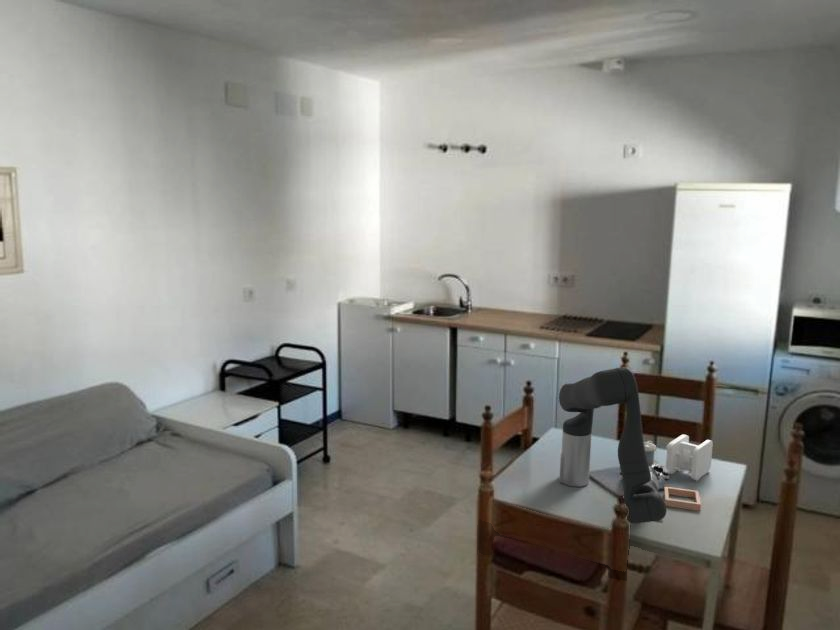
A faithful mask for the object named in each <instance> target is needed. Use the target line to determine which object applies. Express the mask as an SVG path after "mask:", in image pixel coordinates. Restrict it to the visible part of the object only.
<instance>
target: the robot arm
mask: <svg viewBox="0 0 840 630" xmlns="http://www.w3.org/2000/svg"><path fill="white" fill-rule="evenodd" d="M558 402H559V405H560V407H561V409H562V410H563V411H564V412H568V413H578V414H577V415H575V416H574V417H572V418H569V419H566V420H565V421H563V424H562V434H561V435H562V437H561V439H562V440H561V453H560V461H559V463H560V464H559V466H560V467H559V479H558V480H559V481H558V483H561V484H564V485H567V486H570V487H577V488H579V487H580V488H581V487H585V486H587V485H589V482H590V469H591V468H590V466H591V452H592V451H591V450H592V436H593V435H592V432H593V423H594V412H595V411H594V410H595V409H599V408H601V407H609V406H614V405H619V404H624V403H625V409H626V417H625V422H624V426H623V430H622V433H621V435H620V439H619V441H618V446H617V458H618V464H619V475H620V476H621V477H623V478H622V482H623V494H622V496H623V498H624V499H625V504H626V506H627V507H628V509H629V514H628V516H627V519H626V521H627V522H628V523H630V524H632V525H633V524H636V525H637V524H642V523H643V524H644V523H651V522H660V521H659V520H662V519H664V518H665V517H666V515H667V506H666V505H665V499H664V498H663V496H662V495H661V494H660V493H659V481H660V480H661V479H662V480H664V481H665V482H669V481H670V473H669V471H668V470H667V469H666V465H663V464H661V465H659V462H658V461H657V459H654V462H653V465H650V466H649V465H648V461H647V456H646V452H645V447H644V442H645V441H644V435H643V424H642V415H641V413H642V412H641V404H640V395H639V388H638V384H637V380H636V377H635V375H634V372H633V371H632V369H631V368H629V367H627V366H620V367H616V368H615V367H614V368H609V369H604V370H600V371H597V372H595V373H593V374H592V375H591V376H588V377H585V378H583V379H581V380H579V381H575V382H573V383H565V384H564V385H562V386H561V388H560V389H559V394H558Z"/></svg>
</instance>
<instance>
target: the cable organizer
mask: <svg viewBox="0 0 840 630" xmlns="http://www.w3.org/2000/svg"><path fill="white" fill-rule="evenodd" d="M713 444H714V443H713V440H710V439H706V440H705V441H703V442H702V443H700V444H698V445H697V444H694V443H690V436H689V435H687V434H685V433H684V434H681V435H679V436H678V437H676V438H674V439H673V440H671V441H669V443H668V444H667V445H666V447H665V448H666V460H665V461H666V462H665V467H666V469H667V470H668V471H669V475H670V474H671V475H673V474H674V473H675V472H677V471H679V473H681V470H686V471H688V475H690V474H691V476H690V477H691V480H694V481H696V482H697V481H698V480H700V479H701V478H702V477H703V476H705V475H706V474H707V473H708V472H709V471H710V469H711V467H712V456H713V448H714V447H713V446H714V445H713Z"/></svg>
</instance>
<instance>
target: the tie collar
mask: <svg viewBox="0 0 840 630" xmlns="http://www.w3.org/2000/svg"><path fill="white" fill-rule="evenodd" d="M663 493H664V494H663V495H664V496H663V497H664V498H663V499H664V502H665V505H666V507H670V508H678V509H686V510H693V511H699V512H700V511H701V509H702V508H701V507H702V504H701V498H700V493H699V490H694V489H693V490H692V489H687V488H678V487H673V486H672V487H671V486H664V489H663ZM670 495H673V496H679V497H685V498H686V497H687V498H693V499H694V501H695V502H694V501H687V500H683V499H682V500H681V499H674V498H670V497H669V496H670Z"/></svg>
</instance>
